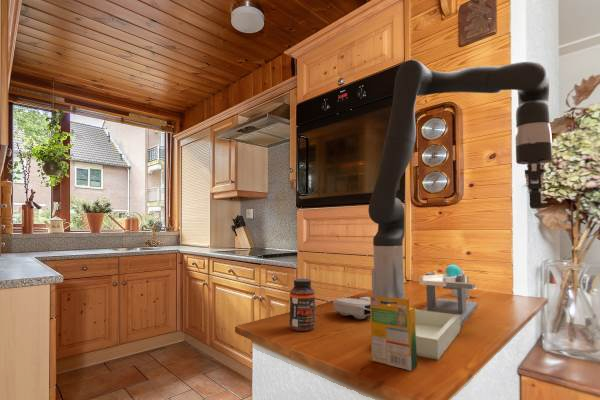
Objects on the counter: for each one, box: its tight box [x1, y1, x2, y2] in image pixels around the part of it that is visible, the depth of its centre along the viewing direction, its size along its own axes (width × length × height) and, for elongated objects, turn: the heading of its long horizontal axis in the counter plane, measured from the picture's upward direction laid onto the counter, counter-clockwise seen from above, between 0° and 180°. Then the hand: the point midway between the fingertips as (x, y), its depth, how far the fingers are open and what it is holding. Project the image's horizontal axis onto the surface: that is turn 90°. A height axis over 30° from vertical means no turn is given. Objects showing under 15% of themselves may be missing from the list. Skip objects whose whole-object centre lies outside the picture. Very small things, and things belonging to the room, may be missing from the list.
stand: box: [421, 271, 478, 328], centre depth 93 cm, size 11×27×10 cm, turn 145°
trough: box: [419, 269, 476, 290], centre depth 92 cm, size 12×26×6 cm, turn 145°
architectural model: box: [450, 275, 477, 299], centre depth 114 cm, size 3×7×7 cm, turn 44°
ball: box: [445, 264, 462, 277], centre depth 102 cm, size 4×4×4 cm
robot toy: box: [326, 296, 391, 320], centre depth 93 cm, size 12×4×15 cm
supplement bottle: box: [289, 278, 316, 332], centre depth 82 cm, size 6×6×11 cm
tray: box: [415, 308, 461, 360], centre depth 73 cm, size 12×20×4 cm, turn 145°
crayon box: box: [369, 294, 418, 372], centre depth 61 cm, size 7×3×12 cm, turn 52°
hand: (535, 208), depth 86 cm, fingers open, 8 cm apart
